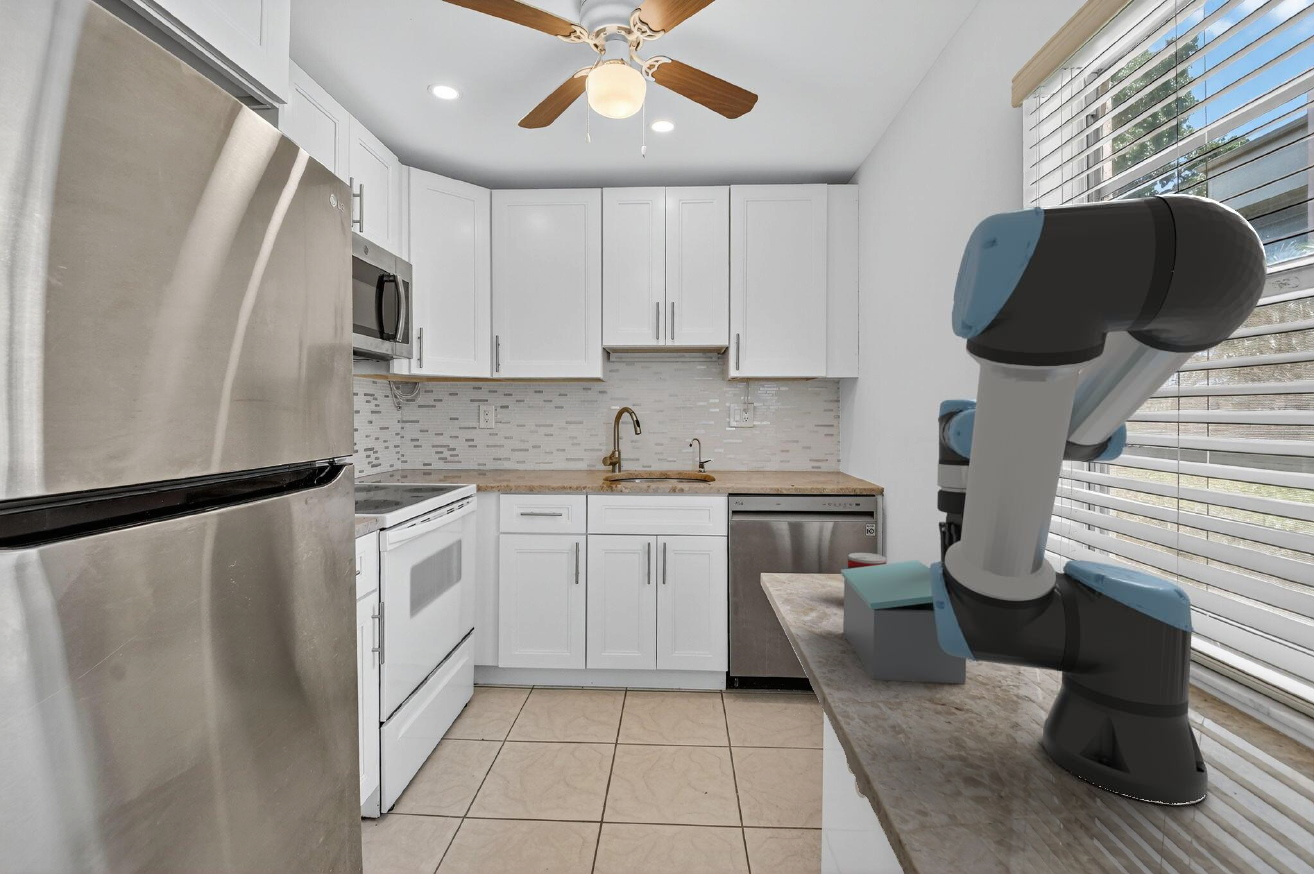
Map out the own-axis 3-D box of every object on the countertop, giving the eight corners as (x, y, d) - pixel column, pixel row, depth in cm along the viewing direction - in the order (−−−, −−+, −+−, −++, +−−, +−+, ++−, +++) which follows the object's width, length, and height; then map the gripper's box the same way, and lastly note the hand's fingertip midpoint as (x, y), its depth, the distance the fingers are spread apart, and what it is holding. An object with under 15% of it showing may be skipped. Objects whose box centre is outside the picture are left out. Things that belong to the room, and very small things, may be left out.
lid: (1009, 635, 88) (1001, 581, 87) (877, 650, 89) (869, 597, 89) (952, 595, 108) (946, 551, 108) (846, 608, 110) (839, 564, 110)
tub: (965, 684, 89) (967, 614, 88) (872, 679, 90) (874, 610, 90) (918, 636, 109) (919, 579, 108) (843, 632, 110) (844, 576, 110)
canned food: (840, 601, 129) (841, 553, 129) (869, 598, 132) (870, 551, 132) (861, 612, 122) (862, 561, 122) (892, 609, 124) (893, 559, 124)
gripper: (1008, 495, 90) (1005, 643, 90) (964, 485, 105) (962, 611, 106) (958, 494, 90) (955, 641, 91) (922, 484, 106) (920, 610, 106)
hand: (959, 625), depth 98 cm, fingers closed on lid, 2 cm apart
